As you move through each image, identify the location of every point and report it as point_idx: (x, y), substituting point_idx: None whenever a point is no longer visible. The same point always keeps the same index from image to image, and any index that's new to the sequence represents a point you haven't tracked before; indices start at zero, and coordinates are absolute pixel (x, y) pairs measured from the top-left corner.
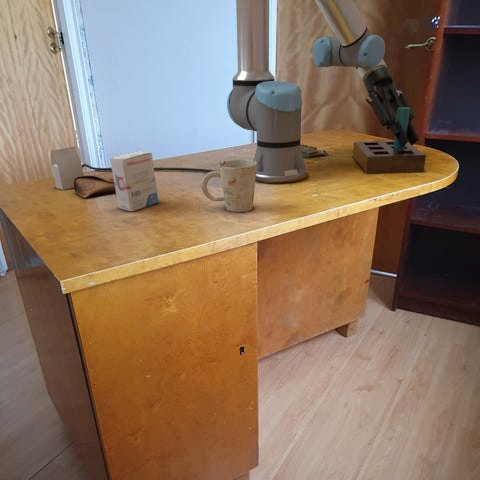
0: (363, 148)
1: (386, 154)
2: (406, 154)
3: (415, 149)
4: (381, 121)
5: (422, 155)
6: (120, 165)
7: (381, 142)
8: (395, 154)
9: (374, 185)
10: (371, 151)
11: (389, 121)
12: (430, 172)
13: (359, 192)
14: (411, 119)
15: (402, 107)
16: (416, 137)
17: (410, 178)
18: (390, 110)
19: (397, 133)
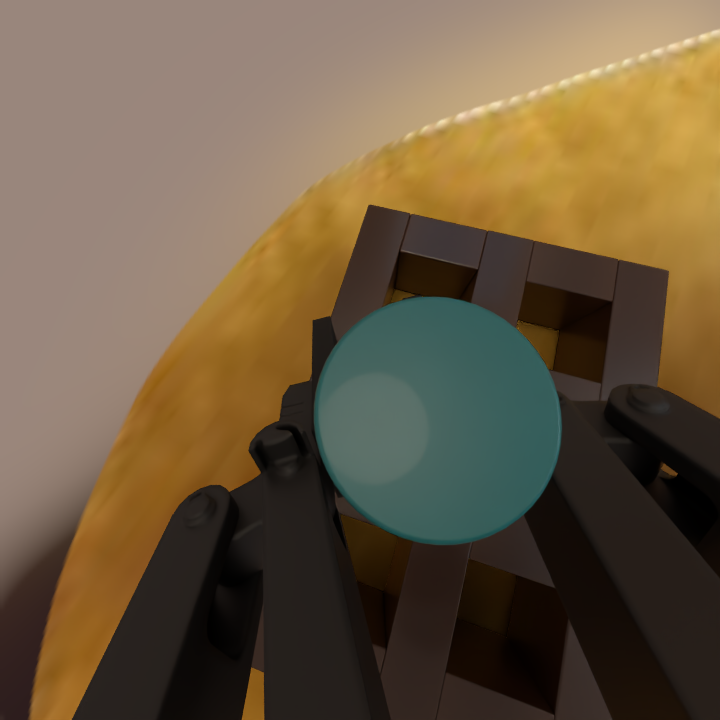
0: None
1: (549, 282)
2: (450, 245)
3: (340, 333)
4: (682, 485)
5: (385, 209)
6: None
7: (416, 650)
8: (503, 265)
9: (630, 151)
10: (603, 386)
11: (596, 408)
12: (350, 237)
13: (708, 98)
14: (247, 483)
15: (425, 501)
16: (326, 324)
17: (465, 189)
18: (661, 570)
19: None
